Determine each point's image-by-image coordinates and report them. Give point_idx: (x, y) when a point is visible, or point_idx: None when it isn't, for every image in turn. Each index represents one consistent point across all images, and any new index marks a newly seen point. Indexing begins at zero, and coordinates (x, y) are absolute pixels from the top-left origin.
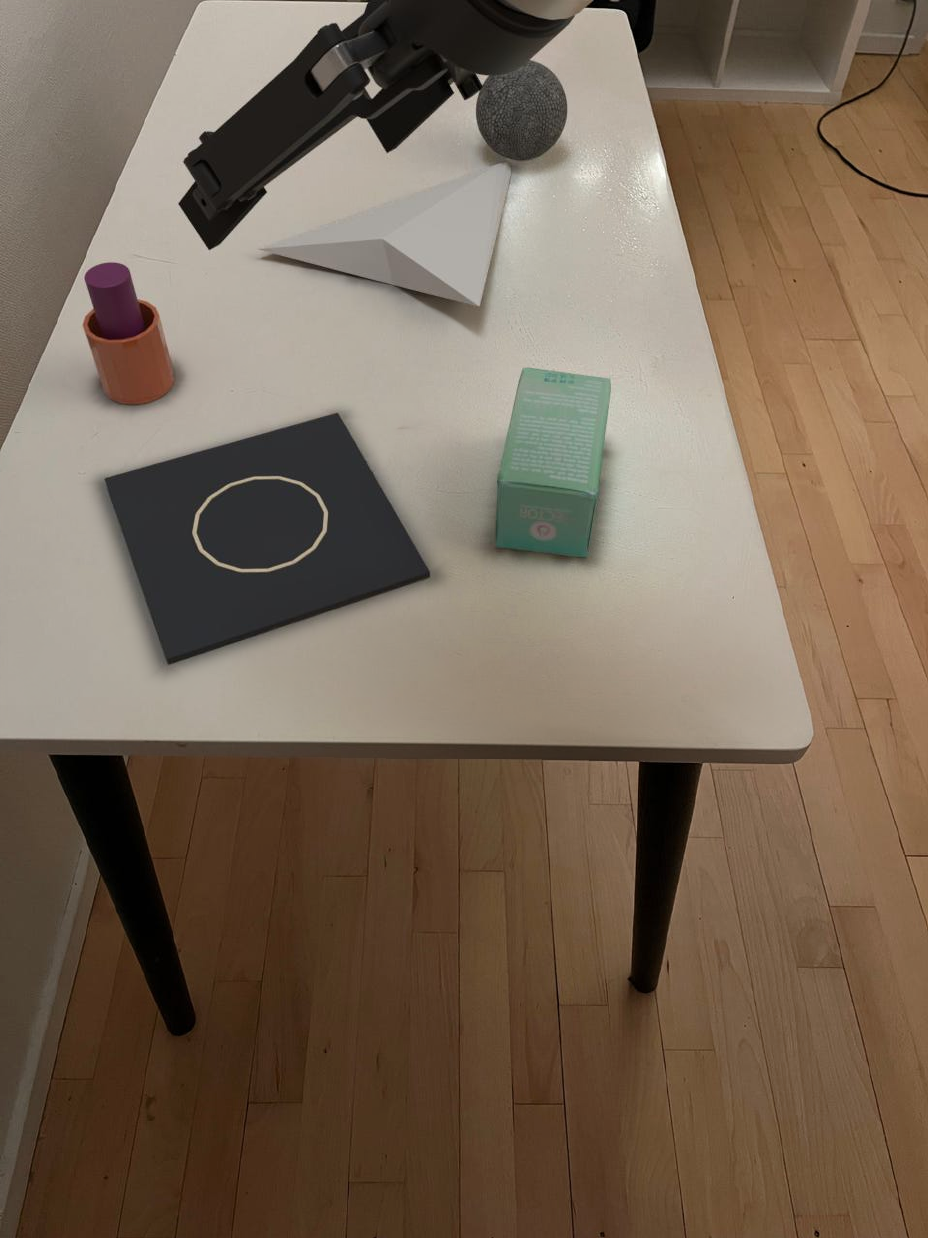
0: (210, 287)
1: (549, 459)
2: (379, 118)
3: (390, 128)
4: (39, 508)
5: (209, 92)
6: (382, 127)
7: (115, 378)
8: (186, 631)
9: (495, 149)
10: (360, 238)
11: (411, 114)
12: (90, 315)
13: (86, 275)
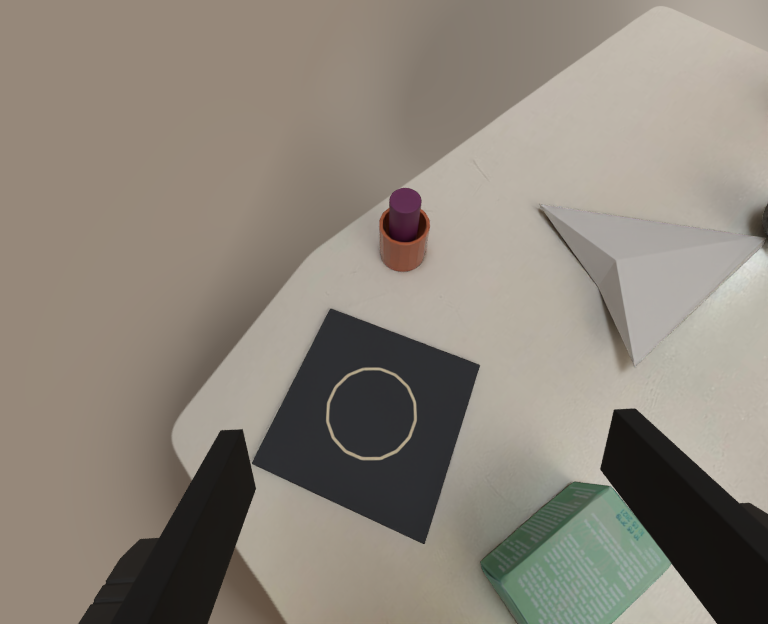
0: (492, 211)
1: (553, 602)
2: (626, 454)
3: (629, 482)
4: (291, 300)
5: (610, 65)
6: (620, 461)
7: (382, 250)
8: (274, 454)
9: (765, 227)
10: (602, 246)
11: (677, 549)
12: None
13: (394, 192)
